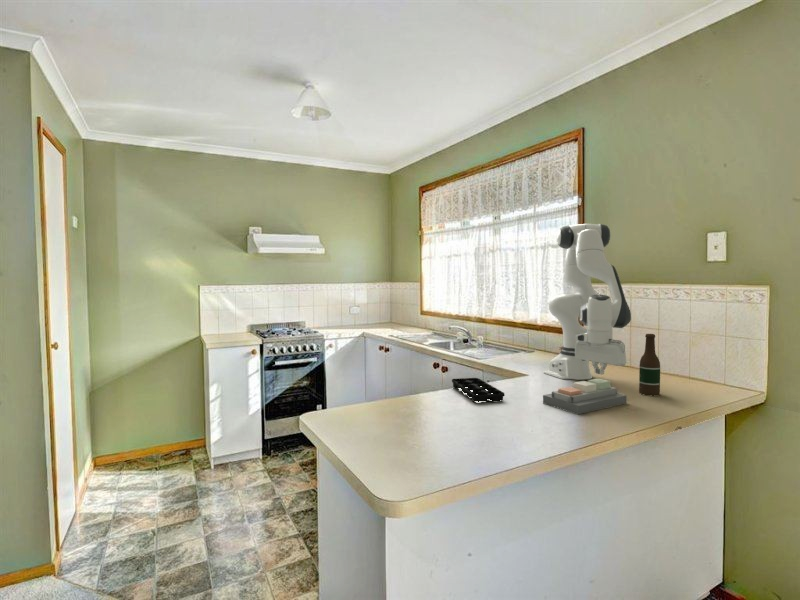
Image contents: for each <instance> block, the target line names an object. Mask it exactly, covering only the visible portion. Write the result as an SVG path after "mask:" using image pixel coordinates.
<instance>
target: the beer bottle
mask: <svg viewBox="0 0 800 600" xmlns="http://www.w3.org/2000/svg"><path fill="white" fill-rule="evenodd" d="M644 335H645V347H644V353H643V355H641V358H640V359H639V373H638V374H639V377H638V378H639V379H638V380H639V381H638V382H639V384H638V388H639V389H638V390H639V394H640V393H641V395H643V394H644V395H643V396H647V395H652V396H651V397H655V396H654V395H659V396H660V393H661V362H660V359H659V357H658V355H657V354H656V342H655V338H656V334H654V333H645V334H644Z"/></svg>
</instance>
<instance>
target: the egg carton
mask: <svg viewBox="0 0 800 600" xmlns="http://www.w3.org/2000/svg"><path fill="white" fill-rule="evenodd" d="M451 383H452V387H453V388H454V389H455V390H457V389H456V388H461V389H462V391H463V392H464V393H467V395H468V396H469V397H472V399H473V400H474V401H478V402H479V401H487V399H490V400H492V401H500V400H503V399H504V397H505V392H504V391H502V390H500V389H498V388H497V387H494V386H493V385H491V384H490V383H487V382H486V381H484V380H482V379H481V378H478V377H466V378H465V377H464V378H463V377H461V378H452V379H451ZM480 386H482V387H480ZM465 387H468V388H465ZM485 389H487V390H488V391H486V390H485ZM470 390H473V392H471V391H470ZM491 393H493V394H491ZM476 394H478V395H476ZM472 399H471V400H472ZM487 402H488V401H487Z"/></svg>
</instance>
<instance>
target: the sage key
mask: <svg viewBox="0 0 800 600" xmlns="http://www.w3.org/2000/svg"><path fill="white" fill-rule="evenodd" d="M587 382H590V383H595V384H596V389H598V390H604V389H609V388H610V387H611V380H606V379H601V378H593V379H592V378H591V379H587Z"/></svg>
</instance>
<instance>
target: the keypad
mask: <svg viewBox="0 0 800 600" xmlns="http://www.w3.org/2000/svg"><path fill="white" fill-rule="evenodd" d="M627 397H628V396H627V394H623V393H619V392H618V388H616V387H613V386H610V388H609V389H604V390H598V389H596V391H594V392H589V393H584V392H581V394H578V395H573V396H569V395H565V394H562V393H558V390H553V391H551V393H548V394H543V395H542V403H543V404H544V403H546V404H545V405H548V404H549V405H548V406H551V405H552V407H554V406H555V407H554V408H557V407H558V409H560V408H561V409H560V410H563V409H564V411H566V410H567V412H570V413H573V414H577V415H581V414H586V413H591V412H593V411H599V410H603V409H608V408H612V407H611V406H613V407H616V406H615V405H617V406H621V405H625V404H624V403H626V404H627V403H628V401H627V400H628V399H627ZM620 404H621V405H620ZM607 407H608V408H607Z"/></svg>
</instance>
